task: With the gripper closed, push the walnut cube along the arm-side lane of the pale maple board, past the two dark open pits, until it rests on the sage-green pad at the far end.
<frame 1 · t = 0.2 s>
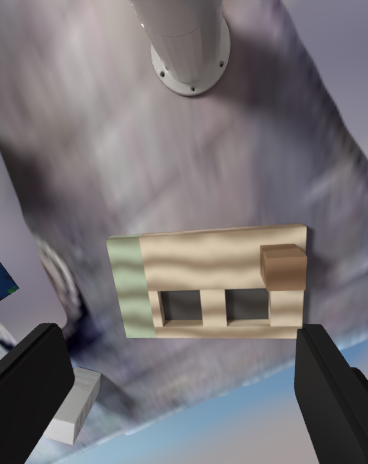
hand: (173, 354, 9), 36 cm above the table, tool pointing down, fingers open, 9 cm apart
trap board: (205, 283, 49), on the table
walnut cube: (276, 259, 42), point 2 cm above the table, touching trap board
supplement box: (88, 378, 62), on the table
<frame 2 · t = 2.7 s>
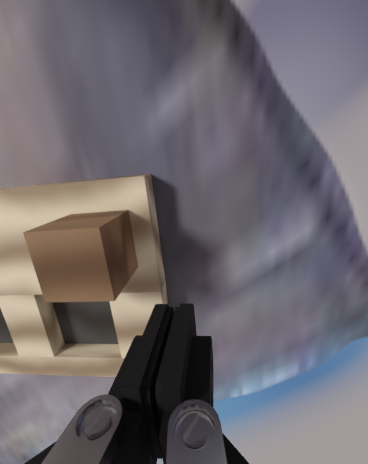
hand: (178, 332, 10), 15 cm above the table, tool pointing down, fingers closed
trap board: (20, 284, 29), on the table
walnut cube: (105, 241, 23), point 2 cm above the table, touching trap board
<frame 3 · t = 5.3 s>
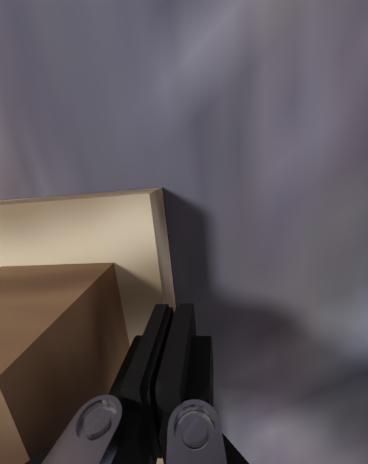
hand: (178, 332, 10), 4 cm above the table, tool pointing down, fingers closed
walnut cube: (69, 317, 12), point 3 cm above the table, touching gripper
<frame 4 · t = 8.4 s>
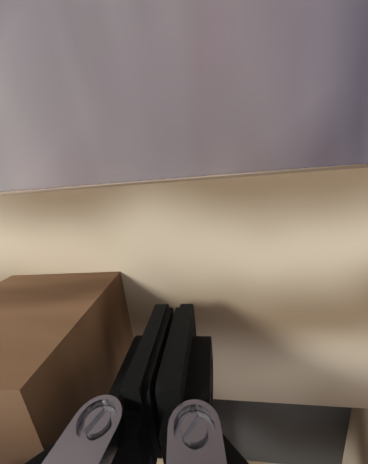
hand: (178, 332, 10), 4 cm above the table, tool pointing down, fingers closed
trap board: (149, 359, 16), on the table
walnut cube: (77, 323, 12), point 3 cm above the table, touching gripper
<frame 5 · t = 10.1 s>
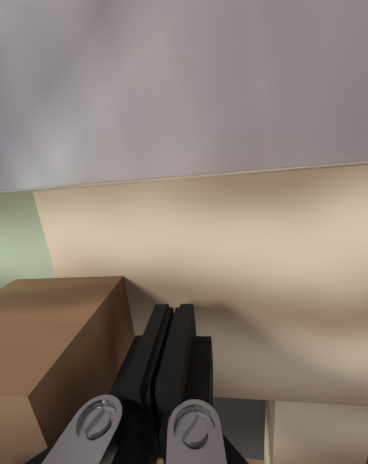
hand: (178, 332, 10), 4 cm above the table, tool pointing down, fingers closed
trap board: (281, 362, 14), on the table
walnut cube: (81, 326, 12), point 3 cm above the table, touching gripper
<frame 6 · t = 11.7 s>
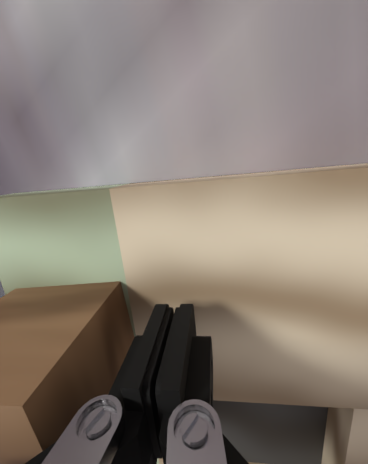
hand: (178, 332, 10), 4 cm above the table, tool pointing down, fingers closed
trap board: (348, 367, 14), on the table
walnut cube: (81, 333, 12), point 2 cm above the table, touching gripper, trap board
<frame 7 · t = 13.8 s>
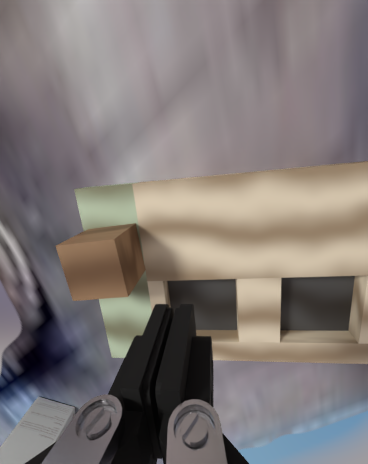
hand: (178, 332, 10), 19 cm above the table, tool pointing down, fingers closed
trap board: (242, 269, 29), on the table
walnut cube: (117, 249, 28), point 2 cm above the table, touching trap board
supplement box: (57, 413, 42), on the table
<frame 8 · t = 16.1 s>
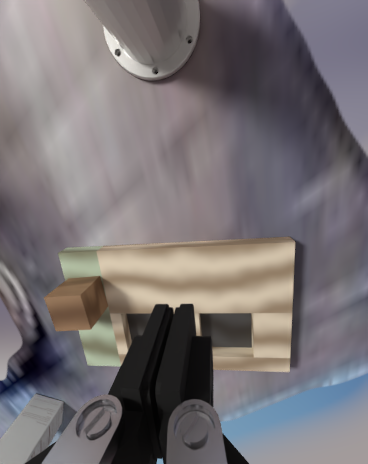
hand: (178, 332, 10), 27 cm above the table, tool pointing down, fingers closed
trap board: (177, 304, 41), on the table
walnut cube: (88, 292, 40), point 2 cm above the table, touching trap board
supplement box: (50, 406, 54), on the table
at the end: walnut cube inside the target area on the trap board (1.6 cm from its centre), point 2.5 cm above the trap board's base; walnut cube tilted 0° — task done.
